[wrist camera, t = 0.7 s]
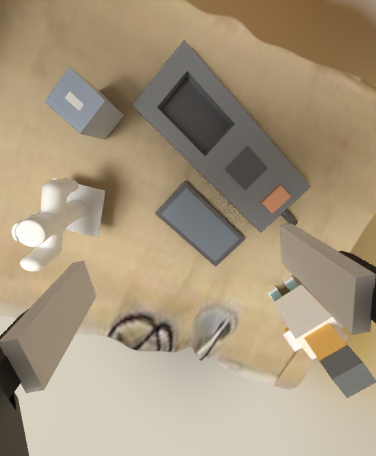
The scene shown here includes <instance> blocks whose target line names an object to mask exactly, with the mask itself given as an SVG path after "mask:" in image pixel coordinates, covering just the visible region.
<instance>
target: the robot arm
mask: <svg viewBox="0 0 376 456" xmlns="http://www.w3.org/2000/svg"><path fill="white" fill-rule="evenodd" d="M280 239H281V260H282V263H283V265H284V266H285V267H286V268H287V269H288V270H289V271H290V272H291V273H292V274H293V275H294V276H295V277H296V278H297V279H298V280H299V281H300V282H301V283H302V284H303V285H304V286H305V287H306V288H307V289H308V290H309V291H310V292H311V293H312V294H313V295H314V296H315V297H316V298H317V300H318V301H319V302H320V303H321V304H322V305H323V306H324V307H325V308H326V309H327V310H328V311H329V312H330V313H331V314H332V315H333V316H334V317H335V318H336V319H337V320H338V321H339V322H340V323H341V324H342V325H343V326H344V327H345V328H346V329H347V330H348V331H349V332H350V333H351V334H352V335H354V334H360V333H365V332H370V327H371V320H373V321H374V322H375V323H376V267H375V266H373V265H371V264H369V263H368V262H366V261H364V260H362V259H361V258H359V257H357V256H355V255H354V254H351V253H348V252H344V251H336V250H335V249H333V248H331V247H330V246H328V245H326V244H325V243H323V242H321V241H320V240H318V239H316V238H315V237H313V236H312V235H310V234H308V233H307V232H305V231H303V230H302V229H300V228H298V227H297V226H295V225H293V224H292V223H290V224H285V225H280ZM95 298H96V294H95V291H94V288H93V285H92V282H91V280H90V277H89V274H88V271H87V268H86V266H85V263H84V261H82V262H76V263H72V264H71V265H70V266H69V267H68V269H67V270H66V271H65V272H64V273H63V274H62V275H61V276H60V277H59V278H58V279H57V280H56V281H55V282H54V283H53V284H52V285H51V287H50V288H49V289H48V290H47V291H46V292H45V293H44V294H43V295H42V296H41V297H40V298H39V299H38V300H37V301H36V302H35V303H34V305H33V306H32V307H31V308H30V309H28V310H27V311H25V312H24V313H23V314H21V315H20V316H19V317H18V318H17V319H16V320H15V321H14V322H13V324H11V325H10V326H9V327H8V329H7V330H6V331H5V332H4V333H3V334H2V335H1V336H0V456H29V453H28V448H27V443H26V438H25V432H24V427H23V422H22V417H21V412H20V407H19V401H18V397H17V396H16V394H15V390H16V389H17V387H18V386H19V384H20V383H21V385H22V386H23V388H24V390H25V392H26V393H29V392H35V391H41V390H44V389H45V387H46V386H47V384H48V382H49V380H50V378H51V377H52V375H53V373H54V371H55V369H56V368H57V366H58V364H59V362H60V360H61V359H62V357H63V355H64V353H65V351H66V350H67V348H68V346H69V344H70V343H71V340H72V339H73V337H74V335H75V334H76V332H77V330H78V328H79V326H80V325H81V323H82V321H83V319H84V317H85V316H86V314H87V312H88V310H89V308H90V307H91V305H92V303H93V301H94V300H95Z"/></svg>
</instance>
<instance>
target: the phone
mask: <svg viewBox="0 0 376 456" xmlns="http://www.w3.org/2000/svg"><path fill="white" fill-rule="evenodd" d="M155 214H156V215H157V216H159V217H160V218H161V219H162V220H163V221H164V222H165V223H167V224H168V225H169V226H170V227H171V228H172V229H173V230H175V231H176V232H177V233H178V234H179V235H180V236H181V237H183V238H184V239H185V240H186V241H187V242H188V243H189V244H191V245H192V246H193V247H194V248H195V249H196V250H197V251H199V252H200V253H201V254H202V255H203V256H204V257H205V258H207V259H208V260H209V261H210V262H211V263H212V264H213V265H214V266H217V265H218V264H219V263H220V262H221V261H222V260H223V259H224V258H226V257H227V256H228V255H229V254H230V253H231V252H232V251H233V250H234V249H235V248H236V247H237V246H238V245H239V244H240V243H242V242H243V241H244V240H245V238H244V237H243V236H242V235H241V234H240V233H239V232H238V231H237V230H236V229H235V228H234V227H233V226H232V225H230V224H229V223H228V222H227V221H226V220H225V219H224V218H223V217H222V216H221V215H220V214H219V213H218V212H217V211H216V210H215V209H214V208H213V207H212V206H211V205H210V204H209V203H208V202H206V201H205V200H204V199H203V198H202V197H201V196H200V195H199V194H198V193H197V192H196V191H195V190H194V189H193V188H192V187H191V186H190V185H189V184H188V183H187V182H186V181H184V182H183V183H182V184H181V186H180V187H179V188H178V189H177V190H176V191H175V192H174V193H173V194H172V195H171V196H170V197H169V199H168V200H167V201H166V202H165V203H164V204H163V205H162V206H161V207H160V208H159V209H158V210H157V211H156V213H155Z"/></svg>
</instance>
